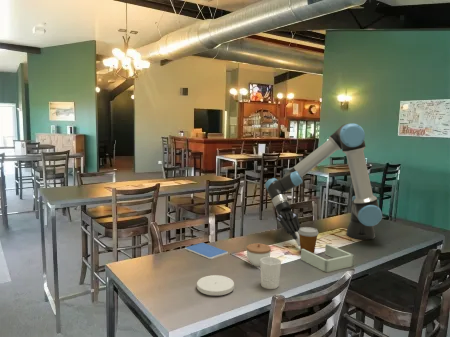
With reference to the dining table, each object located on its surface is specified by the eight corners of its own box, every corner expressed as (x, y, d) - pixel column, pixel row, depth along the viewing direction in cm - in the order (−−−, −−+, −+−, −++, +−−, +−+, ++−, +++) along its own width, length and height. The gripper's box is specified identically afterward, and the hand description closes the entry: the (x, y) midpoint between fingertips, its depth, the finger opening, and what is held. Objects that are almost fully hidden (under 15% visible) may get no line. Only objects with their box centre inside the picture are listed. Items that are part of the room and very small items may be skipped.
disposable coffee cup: (318, 257, 168) (319, 233, 167) (297, 256, 170) (298, 231, 169) (316, 250, 178) (317, 227, 176) (297, 249, 179) (298, 226, 178)
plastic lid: (189, 291, 133) (189, 285, 133) (210, 278, 145) (210, 272, 145) (221, 301, 126) (221, 295, 125) (240, 286, 138) (240, 280, 137)
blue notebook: (183, 249, 178) (183, 247, 177) (202, 244, 186) (202, 241, 186) (209, 260, 164) (209, 258, 164) (229, 254, 173) (229, 251, 173)
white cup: (257, 281, 142) (258, 257, 141) (277, 280, 143) (278, 256, 142) (261, 290, 134) (262, 264, 133) (282, 289, 135) (283, 264, 134)
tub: (326, 253, 174) (327, 244, 173) (353, 265, 160) (354, 255, 159) (300, 259, 166) (301, 249, 165) (326, 272, 152) (326, 261, 151)
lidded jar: (254, 270, 153) (255, 249, 152) (241, 261, 162) (242, 241, 161) (275, 266, 158) (275, 245, 157) (261, 258, 167) (262, 238, 166)
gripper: (288, 207, 196) (307, 246, 183) (268, 209, 190) (286, 250, 177) (294, 199, 191) (314, 239, 178) (274, 201, 184) (294, 243, 172)
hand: (300, 244), depth 178 cm, fingers closed
